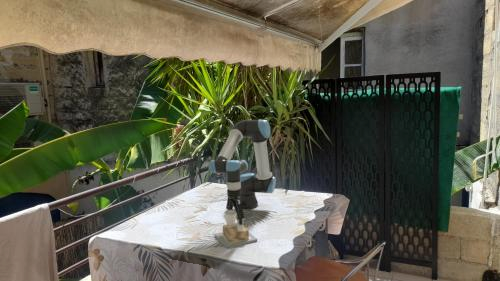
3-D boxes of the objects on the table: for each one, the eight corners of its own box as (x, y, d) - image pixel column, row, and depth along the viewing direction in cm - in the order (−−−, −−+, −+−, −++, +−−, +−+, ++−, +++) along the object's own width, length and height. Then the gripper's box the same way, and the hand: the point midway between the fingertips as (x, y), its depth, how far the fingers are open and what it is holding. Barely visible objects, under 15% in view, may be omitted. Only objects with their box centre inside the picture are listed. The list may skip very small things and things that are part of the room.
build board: (243, 230, 207) (243, 228, 207) (257, 241, 191) (257, 239, 191) (215, 236, 200) (215, 233, 200) (226, 248, 184) (226, 245, 183)
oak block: (241, 230, 203) (241, 222, 203) (248, 239, 191) (248, 230, 190) (223, 233, 200) (222, 225, 199) (229, 242, 187) (229, 233, 187)
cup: (224, 222, 201) (224, 209, 199) (241, 222, 202) (241, 209, 200) (223, 228, 194) (224, 215, 192) (242, 228, 195) (242, 215, 193)
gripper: (219, 184, 201) (221, 220, 204) (236, 195, 179) (237, 235, 182) (231, 182, 205) (233, 218, 207) (249, 193, 182) (251, 232, 185)
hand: (235, 226), depth 195 cm, fingers open, 13 cm apart
